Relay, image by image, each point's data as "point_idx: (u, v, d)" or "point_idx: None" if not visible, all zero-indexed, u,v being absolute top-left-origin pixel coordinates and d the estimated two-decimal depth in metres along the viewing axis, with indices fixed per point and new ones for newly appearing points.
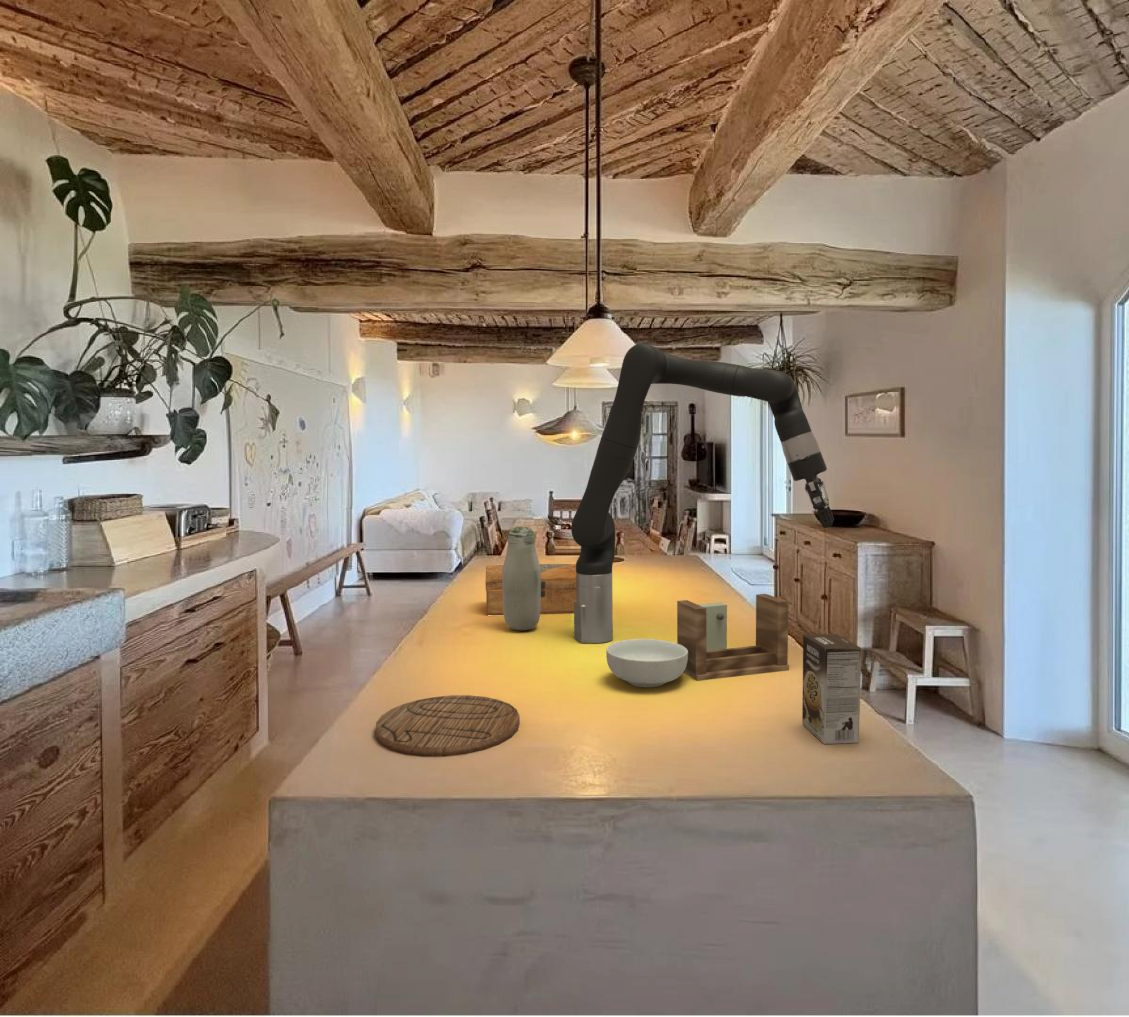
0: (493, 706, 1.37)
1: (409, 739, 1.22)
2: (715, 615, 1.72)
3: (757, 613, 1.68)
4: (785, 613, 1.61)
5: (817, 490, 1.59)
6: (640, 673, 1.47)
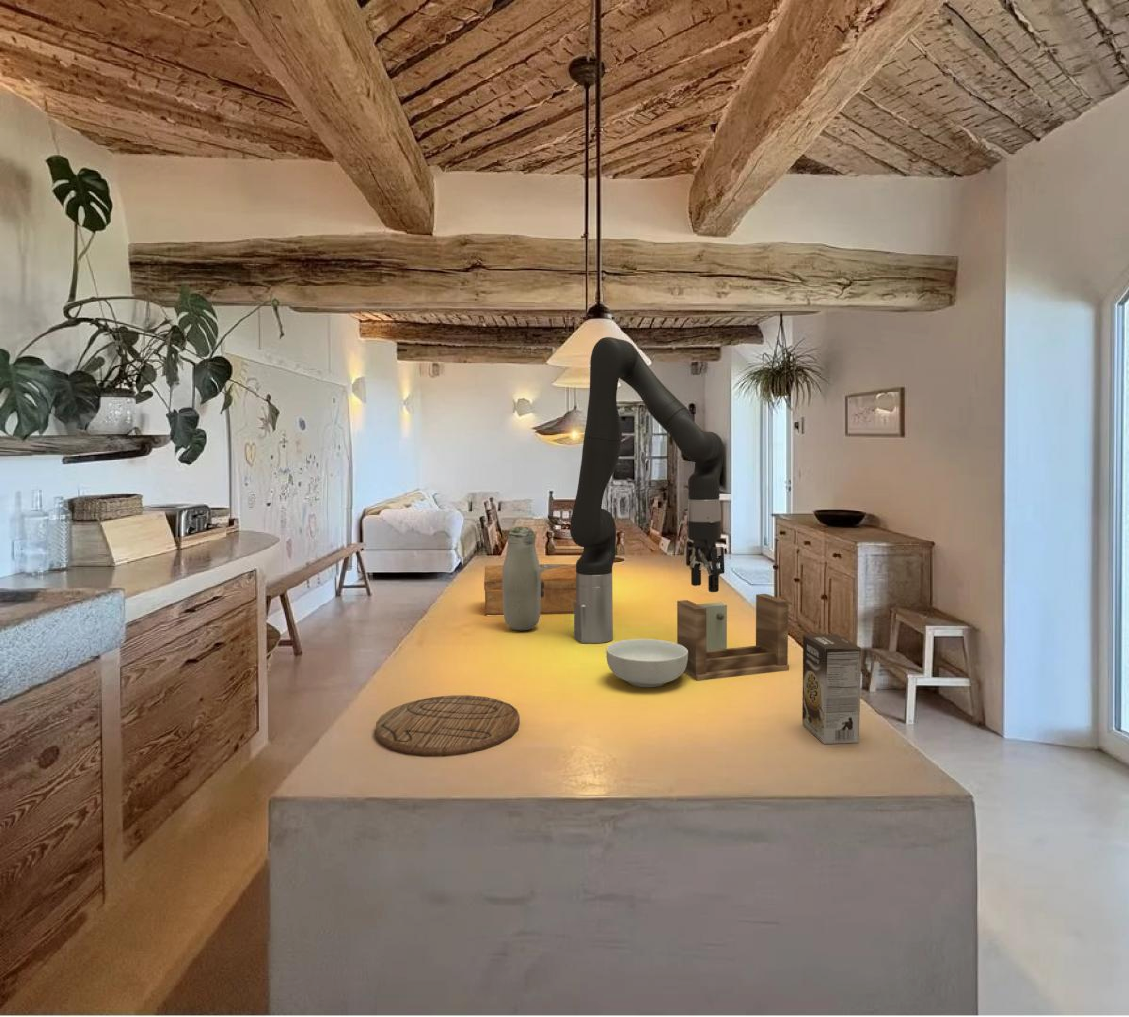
0: (493, 706, 1.37)
1: (409, 738, 1.22)
2: (715, 615, 1.72)
3: (757, 613, 1.68)
4: (785, 613, 1.61)
5: (722, 557, 1.65)
6: (640, 673, 1.47)
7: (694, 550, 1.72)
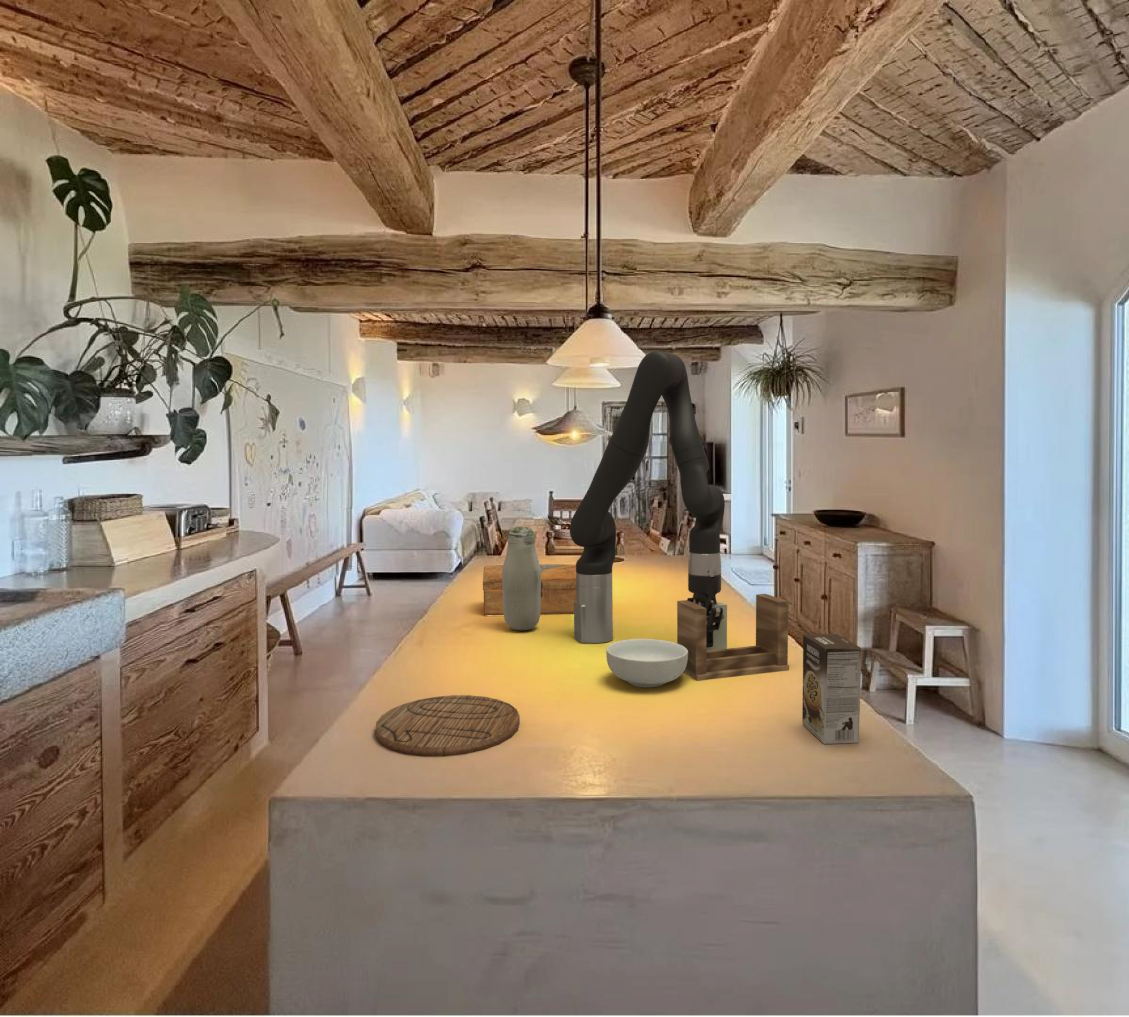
0: (493, 706, 1.37)
1: (409, 738, 1.22)
2: None
3: (757, 613, 1.68)
4: (785, 613, 1.61)
5: (719, 617, 1.67)
6: (640, 673, 1.47)
7: (694, 601, 1.73)
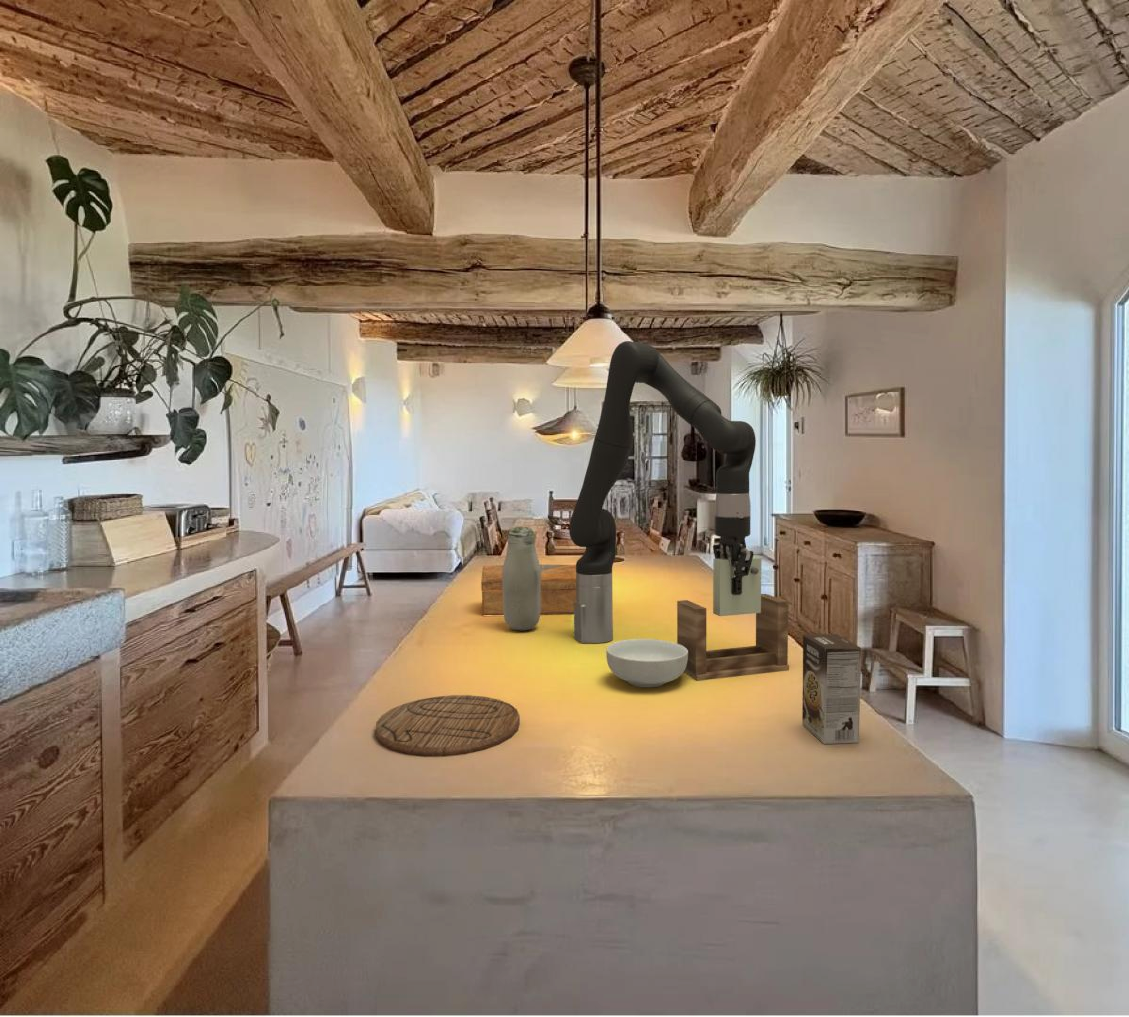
0: (493, 706, 1.37)
1: (409, 738, 1.22)
2: None
3: (757, 613, 1.68)
4: (785, 613, 1.61)
5: (749, 561, 1.56)
6: (640, 673, 1.47)
7: (721, 546, 1.62)
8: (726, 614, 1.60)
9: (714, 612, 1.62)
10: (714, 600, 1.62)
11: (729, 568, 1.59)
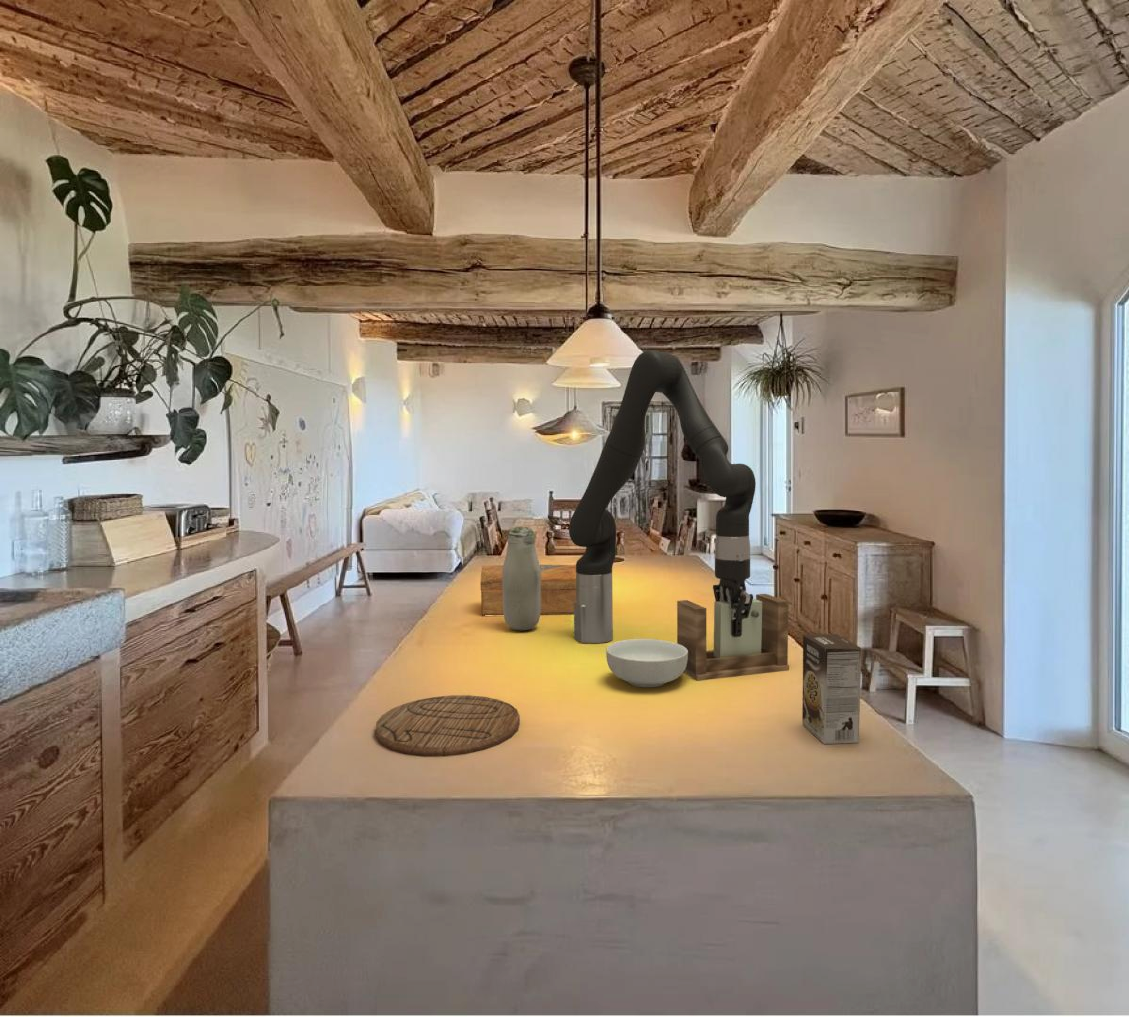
0: (493, 706, 1.37)
1: (409, 738, 1.22)
2: (750, 612, 1.62)
3: None
4: (785, 613, 1.61)
5: (749, 605, 1.56)
6: (640, 673, 1.47)
7: (721, 588, 1.62)
8: None
9: (714, 654, 1.63)
10: (715, 643, 1.62)
11: (730, 611, 1.60)
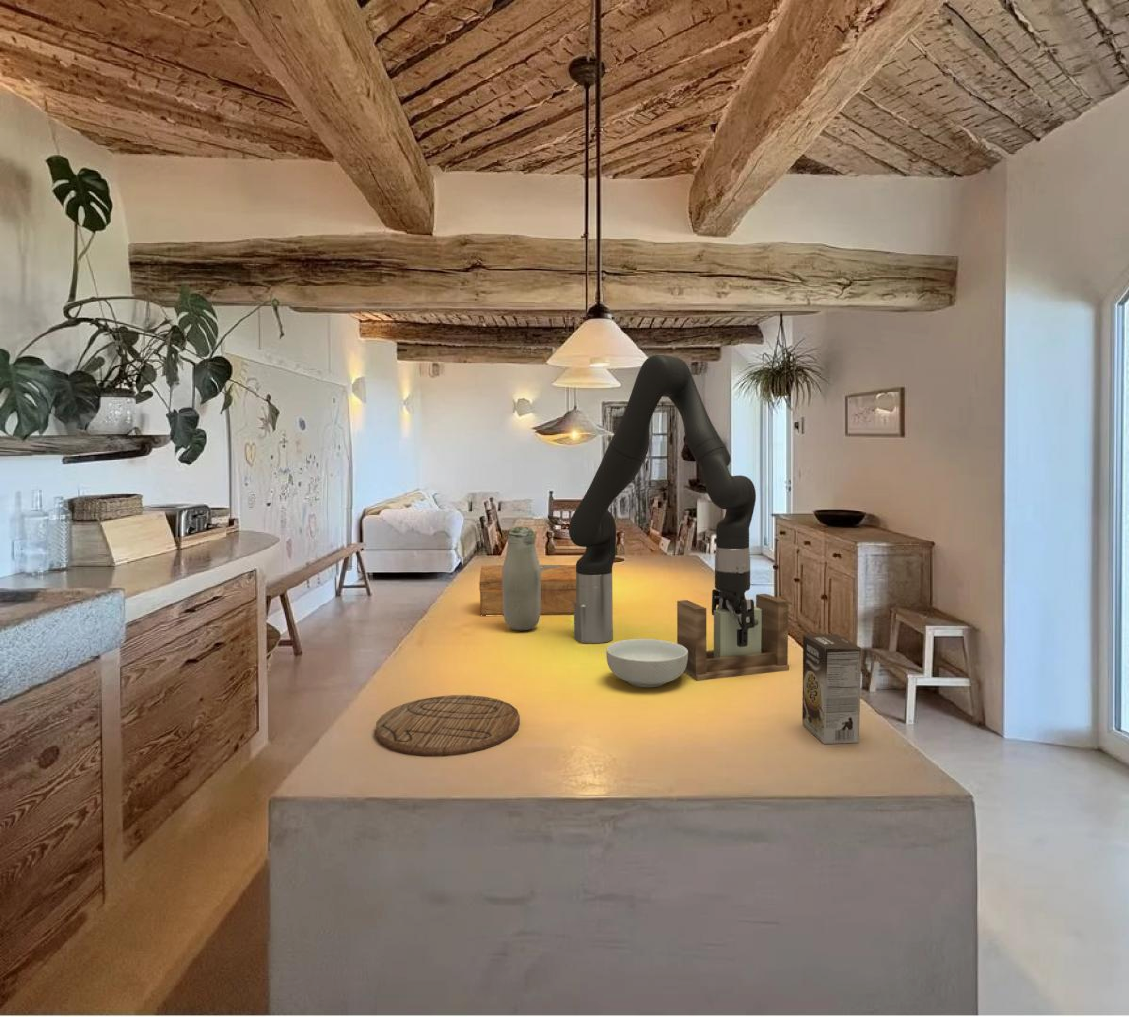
0: (493, 706, 1.37)
1: (409, 738, 1.22)
2: (749, 620, 1.62)
3: None
4: (785, 613, 1.61)
5: (752, 610, 1.56)
6: (640, 673, 1.47)
7: (721, 600, 1.62)
8: None
9: None
10: (715, 651, 1.63)
11: (729, 620, 1.60)
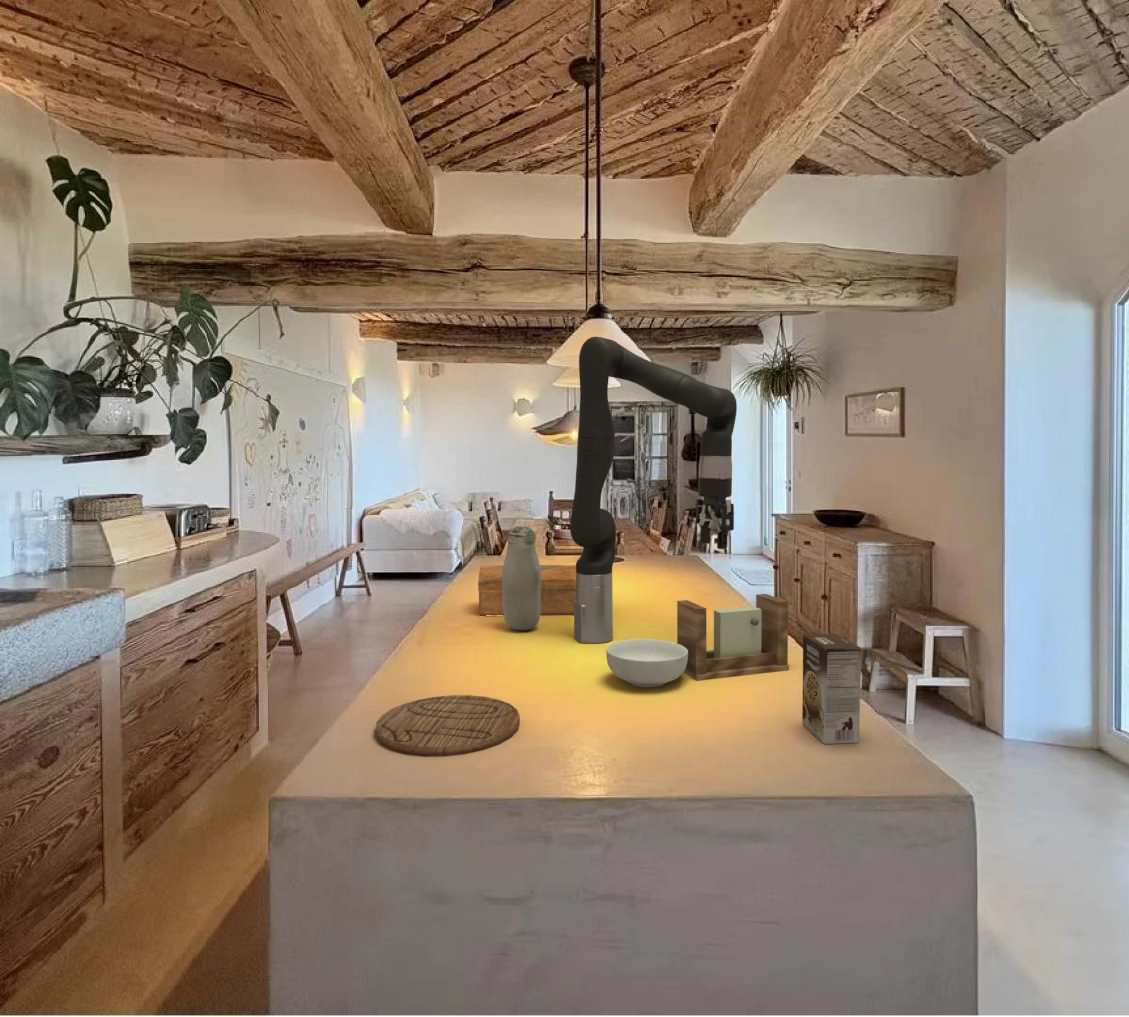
0: (493, 706, 1.37)
1: (409, 738, 1.22)
2: (749, 620, 1.62)
3: None
4: (785, 613, 1.61)
5: (731, 513, 1.65)
6: (640, 673, 1.47)
7: (704, 507, 1.71)
8: None
9: None
10: (715, 651, 1.63)
11: (729, 620, 1.60)
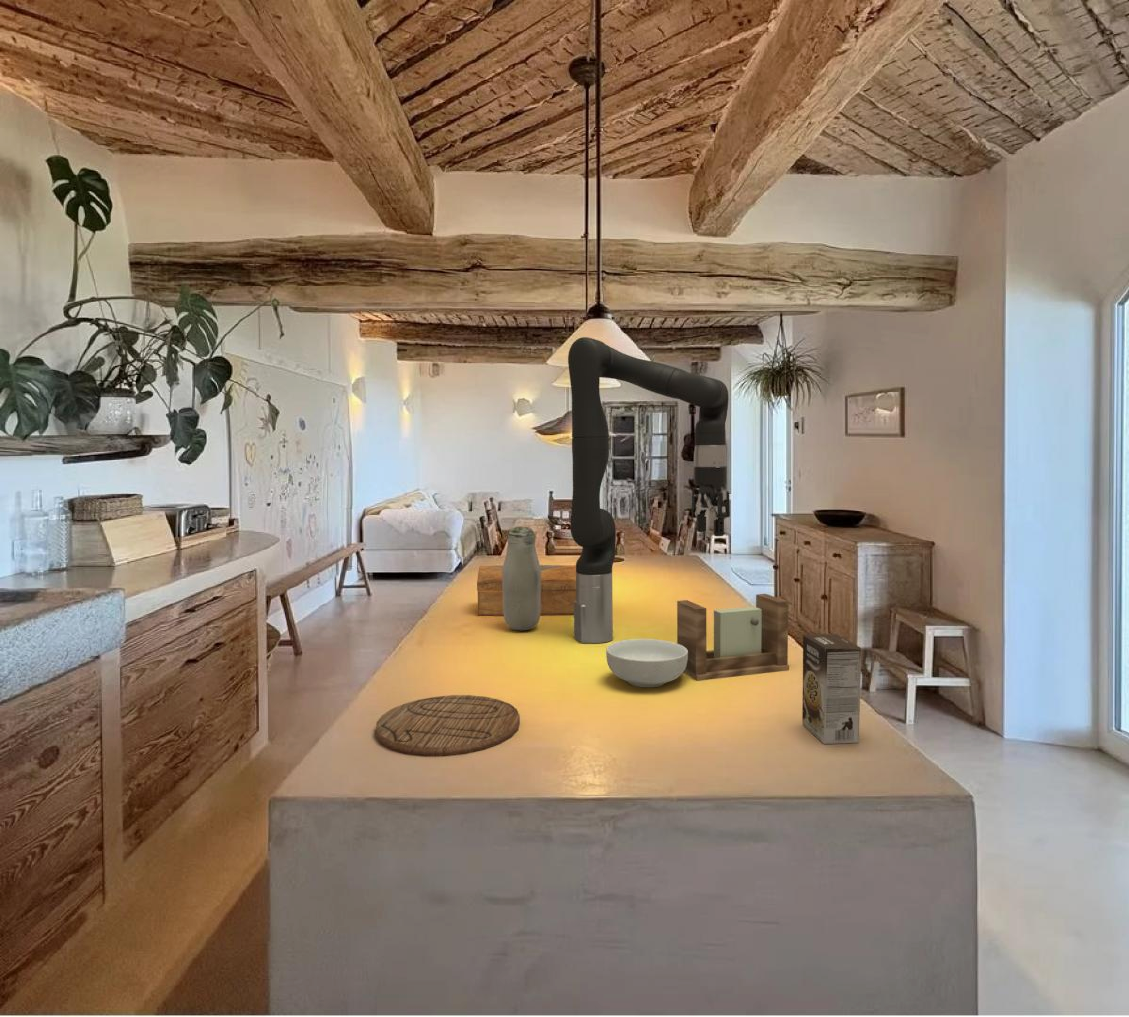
0: (493, 706, 1.37)
1: (409, 738, 1.22)
2: (749, 620, 1.62)
3: None
4: (785, 613, 1.61)
5: (727, 501, 1.68)
6: (640, 673, 1.47)
7: (700, 495, 1.75)
8: None
9: None
10: (715, 651, 1.63)
11: (729, 620, 1.60)
